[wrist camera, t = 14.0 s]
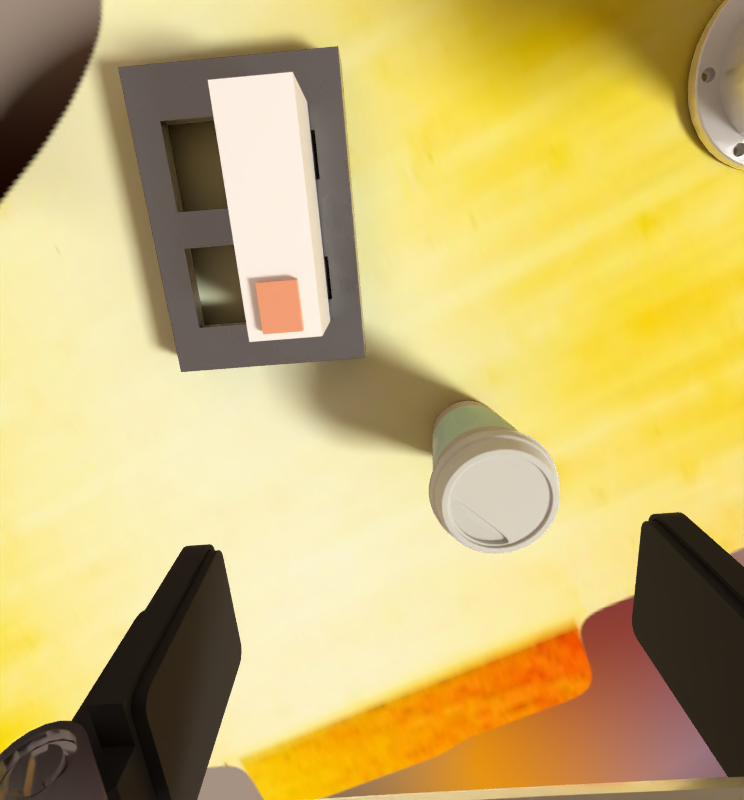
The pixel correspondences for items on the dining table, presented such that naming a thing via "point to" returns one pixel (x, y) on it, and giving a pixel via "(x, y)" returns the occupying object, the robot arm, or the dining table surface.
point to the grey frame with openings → (180, 231)
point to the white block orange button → (272, 204)
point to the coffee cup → (490, 480)
